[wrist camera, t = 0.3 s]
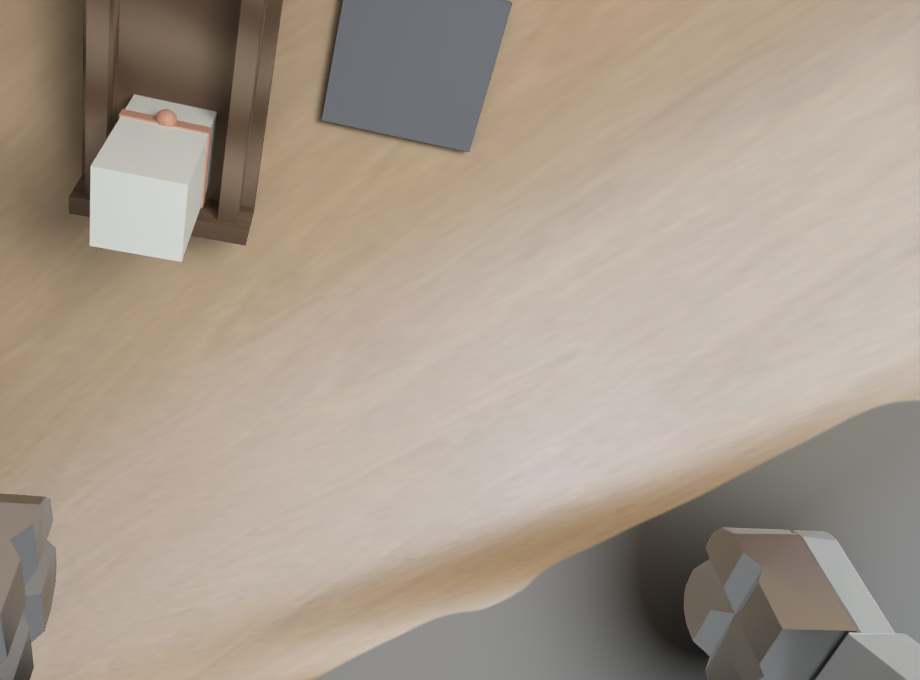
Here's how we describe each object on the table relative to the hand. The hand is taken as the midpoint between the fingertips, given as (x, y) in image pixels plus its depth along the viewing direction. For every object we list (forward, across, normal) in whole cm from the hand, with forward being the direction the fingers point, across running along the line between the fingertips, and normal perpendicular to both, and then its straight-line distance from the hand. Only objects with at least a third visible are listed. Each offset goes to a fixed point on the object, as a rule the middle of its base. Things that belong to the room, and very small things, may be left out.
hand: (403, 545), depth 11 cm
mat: (+48, -6, +9) cm, 49 cm away
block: (+47, +9, +16) cm, 51 cm away
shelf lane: (+49, +8, +12) cm, 51 cm away
